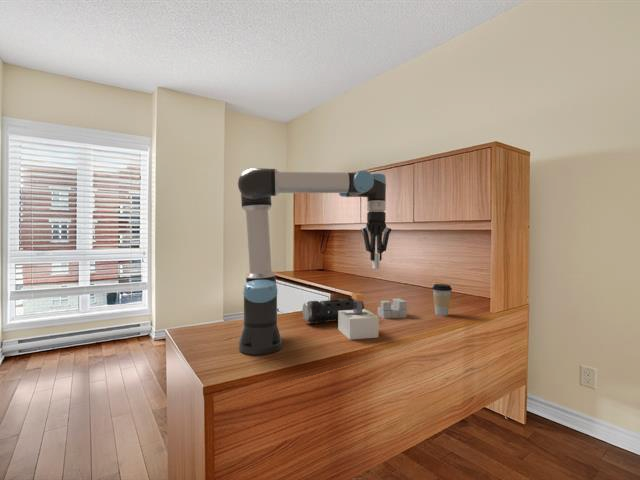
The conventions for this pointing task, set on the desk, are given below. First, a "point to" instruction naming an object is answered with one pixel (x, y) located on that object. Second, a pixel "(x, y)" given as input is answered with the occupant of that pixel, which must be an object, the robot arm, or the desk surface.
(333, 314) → the muzzle brake
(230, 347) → the desk surface
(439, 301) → the coffee cup
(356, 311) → the breaker toggle
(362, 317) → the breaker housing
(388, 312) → the puzzle cube
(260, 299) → the robot arm
